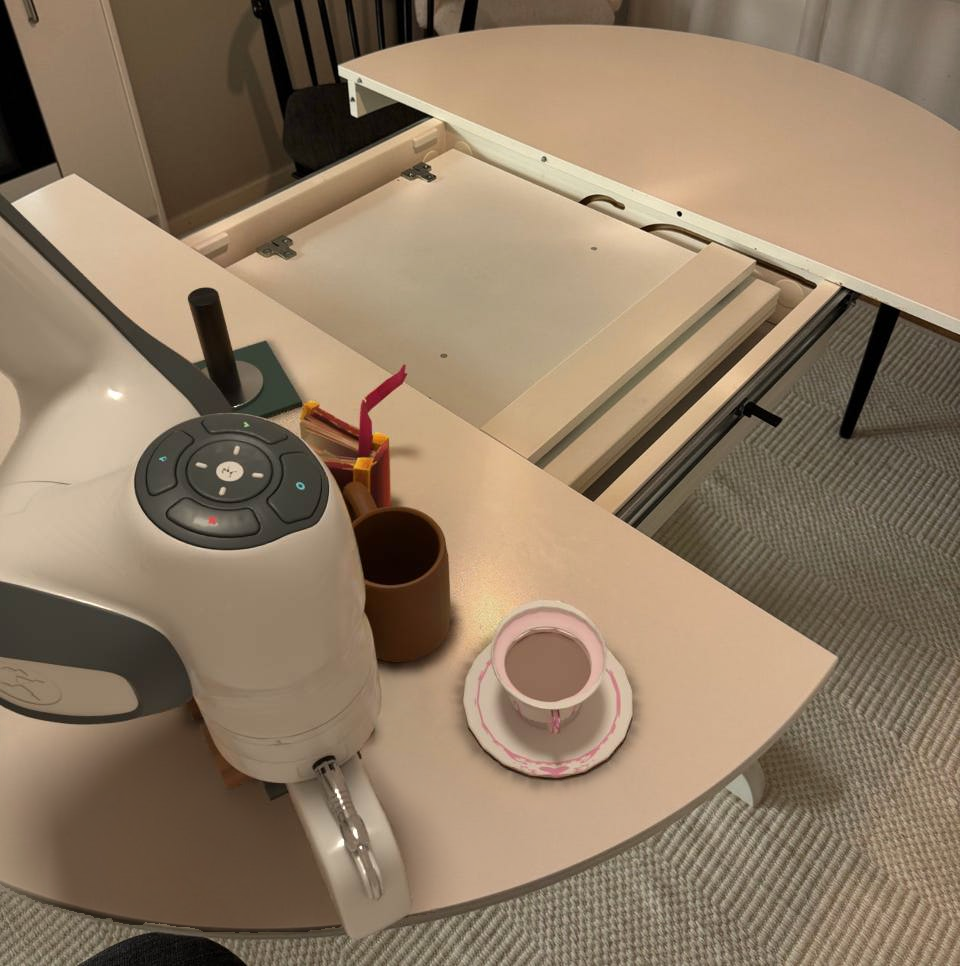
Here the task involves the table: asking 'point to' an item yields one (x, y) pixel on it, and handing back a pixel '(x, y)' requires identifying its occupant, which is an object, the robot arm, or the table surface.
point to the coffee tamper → (222, 352)
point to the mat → (266, 382)
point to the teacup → (548, 692)
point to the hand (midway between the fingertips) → (325, 804)
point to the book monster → (353, 443)
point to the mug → (401, 575)
